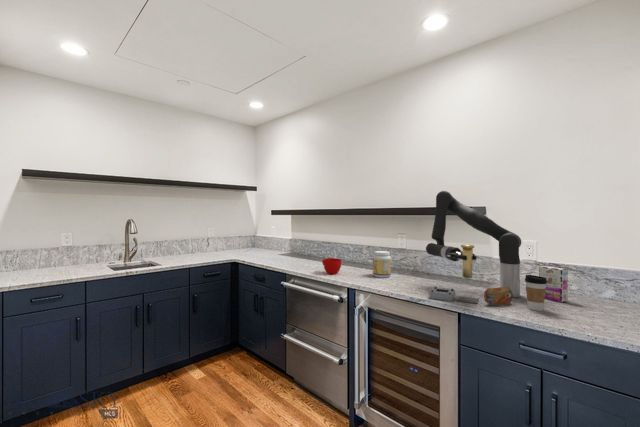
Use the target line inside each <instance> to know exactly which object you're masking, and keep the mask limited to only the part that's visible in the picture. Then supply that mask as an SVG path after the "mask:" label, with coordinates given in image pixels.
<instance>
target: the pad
mask: <svg viewBox="0 0 640 427" xmlns="http://www.w3.org/2000/svg"><path fill="white" fill-rule="evenodd" d="M479 300H480V299H479V297H471V296H463V295H459V296H458V297H457V300H456V302H459V301H460V302H461V303H467V304H475V305H478V303H479ZM460 302H459V303H460Z"/></svg>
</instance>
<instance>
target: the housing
mask: <svg viewBox="0 0 640 427" xmlns="http://www.w3.org/2000/svg"><path fill="white" fill-rule="evenodd" d="M455 298H456V289H454V288H444V287H437V286H434V287H432V288H431V289H430V290H429V291H428V299H431V300H439V301H444V300H445V302H451V301H452V302H453V301H454V300H455Z"/></svg>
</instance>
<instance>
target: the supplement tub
mask: <svg viewBox="0 0 640 427" xmlns="http://www.w3.org/2000/svg"><path fill="white" fill-rule="evenodd" d="M390 253H391V252H390V251H387V250H376V251H374V252H373V254H374V255H373V256H372V276H373V277H375V278H379V279H380V278H381V279H382V278H383V279H385V278H390V277H391V274H392V271H391V270H392V267H391V266H392V258H391V256H390V255H391V254H390Z"/></svg>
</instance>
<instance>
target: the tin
mask: <svg viewBox="0 0 640 427" xmlns="http://www.w3.org/2000/svg"><path fill="white" fill-rule="evenodd" d="M483 293H484V294H483V297H484V298H483V299H484V302H485V303H486V304H488V305H490V306H493V307H495V306H496V307H497V306H505V305H508V304H510V303H511V302H512V300H513V298H514V297H513V295H512V291H511V290H510V289H509V288H508V287H500V286H494V287H493V286H491V287H488V288H486V289H485V290H484V292H483Z"/></svg>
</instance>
